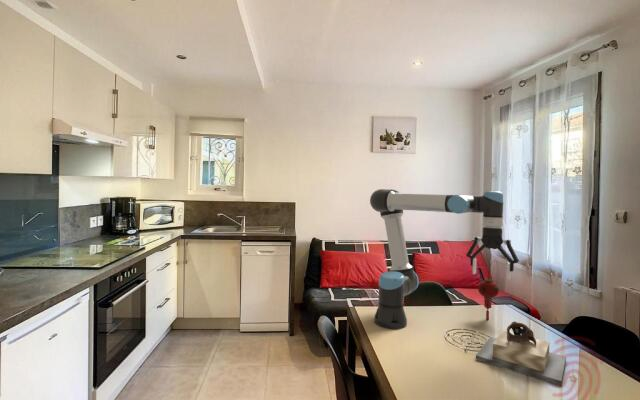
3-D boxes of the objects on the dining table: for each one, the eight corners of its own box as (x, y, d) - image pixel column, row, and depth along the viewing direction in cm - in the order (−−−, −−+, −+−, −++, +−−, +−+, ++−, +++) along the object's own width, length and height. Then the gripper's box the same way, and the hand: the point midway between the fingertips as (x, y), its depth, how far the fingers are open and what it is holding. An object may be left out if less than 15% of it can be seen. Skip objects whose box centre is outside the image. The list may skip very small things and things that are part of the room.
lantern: (490, 324, 161) (492, 261, 160) (472, 317, 169) (474, 258, 168) (502, 321, 165) (504, 260, 165) (484, 314, 174) (486, 257, 173)
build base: (475, 359, 126) (476, 342, 125) (490, 340, 143) (490, 325, 142) (561, 385, 109) (561, 365, 109) (565, 360, 126) (566, 343, 126)
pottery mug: (543, 350, 121) (536, 332, 119) (517, 359, 123) (510, 341, 121) (526, 328, 132) (519, 312, 131) (502, 337, 134) (495, 321, 132)
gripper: (459, 225, 150) (458, 272, 150) (524, 230, 134) (522, 283, 134) (464, 224, 156) (463, 270, 156) (527, 228, 140) (525, 279, 140)
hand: (491, 276), depth 145 cm, fingers open, 13 cm apart
